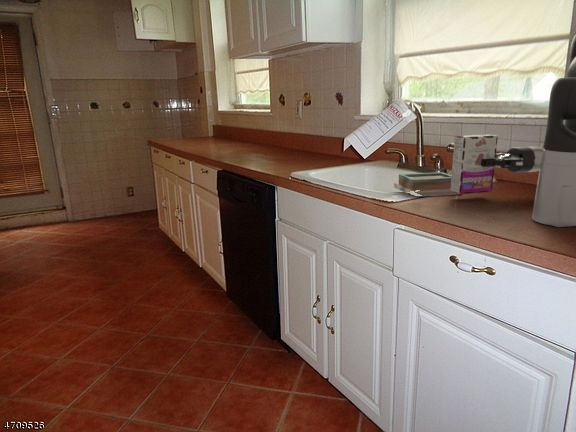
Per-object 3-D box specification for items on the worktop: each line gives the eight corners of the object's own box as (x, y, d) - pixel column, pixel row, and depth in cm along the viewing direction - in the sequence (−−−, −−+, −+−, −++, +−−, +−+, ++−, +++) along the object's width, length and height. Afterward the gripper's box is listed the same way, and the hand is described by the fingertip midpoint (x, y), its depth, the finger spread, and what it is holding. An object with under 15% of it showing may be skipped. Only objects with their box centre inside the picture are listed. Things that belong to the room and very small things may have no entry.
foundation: (462, 194, 132) (464, 178, 130) (414, 196, 128) (416, 181, 127) (437, 185, 145) (439, 171, 143) (394, 187, 141) (395, 173, 140)
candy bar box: (480, 188, 129) (487, 134, 125) (492, 192, 125) (499, 135, 120) (448, 191, 127) (454, 135, 122) (459, 194, 122) (465, 136, 118)
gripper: (511, 144, 133) (462, 145, 129) (547, 149, 119) (494, 151, 116) (508, 168, 135) (460, 170, 131) (543, 175, 121) (490, 178, 118)
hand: (476, 161), depth 124 cm, fingers closed on candy bar box, 5 cm apart
